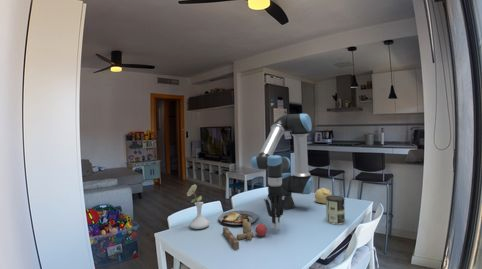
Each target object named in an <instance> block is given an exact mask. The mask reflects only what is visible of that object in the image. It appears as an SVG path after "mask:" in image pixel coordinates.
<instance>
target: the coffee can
mask: <svg viewBox="0 0 482 269" xmlns="http://www.w3.org/2000/svg"><path fill="white" fill-rule="evenodd" d="M345 199H346V198H345V197H344V196H341V195H336V194H335V195H333V194H332V195H331V196H326V204H325V205H326V209H325V211H326V212H325V214H326V220H325V221H326V222H327V223H329V224H332V225H343V224H345V223H346V221H345V220H346V218H345V215H346V214H345V212H346V211H345V209H346V208H345Z"/></svg>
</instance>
